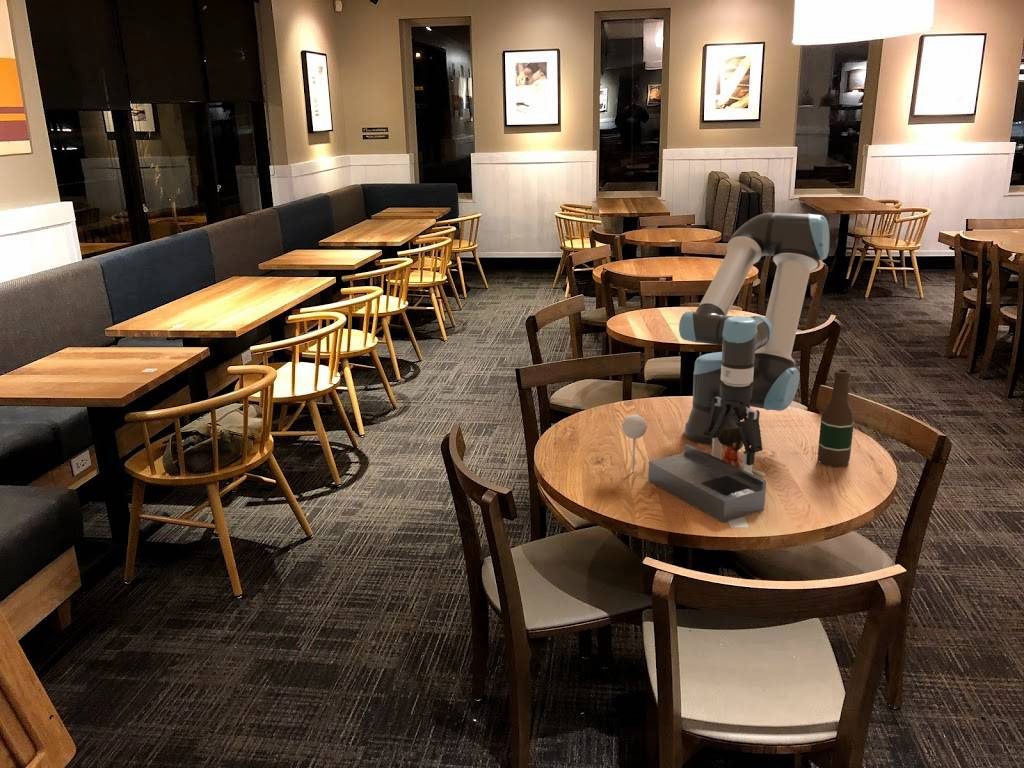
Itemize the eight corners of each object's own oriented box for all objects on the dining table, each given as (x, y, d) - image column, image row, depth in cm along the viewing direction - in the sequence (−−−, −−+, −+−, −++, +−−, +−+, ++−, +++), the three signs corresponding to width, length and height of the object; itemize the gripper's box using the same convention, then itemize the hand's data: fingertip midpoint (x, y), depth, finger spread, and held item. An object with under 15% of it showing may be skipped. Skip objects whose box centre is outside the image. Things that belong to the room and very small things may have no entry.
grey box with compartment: (648, 480, 198) (649, 453, 196) (686, 470, 203) (687, 444, 201) (723, 522, 176) (725, 492, 174) (764, 509, 181) (766, 480, 179)
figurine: (728, 479, 197) (731, 433, 194) (713, 471, 202) (715, 426, 198) (748, 474, 200) (751, 428, 196) (732, 466, 205) (735, 421, 201)
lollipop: (647, 469, 204) (649, 412, 200) (643, 478, 199) (645, 420, 195) (623, 466, 206) (624, 410, 202) (618, 475, 201) (619, 418, 197)
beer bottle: (852, 468, 202) (862, 376, 195) (819, 466, 204) (828, 374, 197) (846, 456, 209) (856, 367, 202) (814, 455, 211) (823, 366, 204)
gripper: (692, 373, 202) (688, 457, 208) (759, 397, 183) (752, 488, 190) (716, 368, 205) (711, 451, 212) (783, 391, 186) (776, 481, 193)
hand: (730, 468), depth 201 cm, fingers open, 10 cm apart
